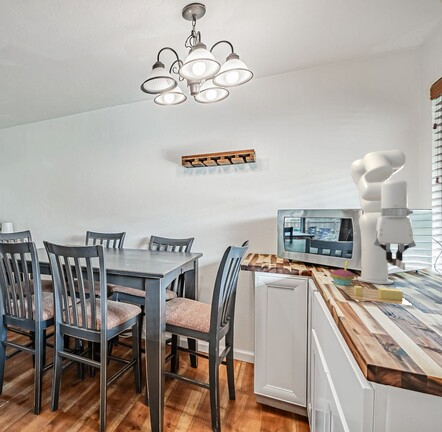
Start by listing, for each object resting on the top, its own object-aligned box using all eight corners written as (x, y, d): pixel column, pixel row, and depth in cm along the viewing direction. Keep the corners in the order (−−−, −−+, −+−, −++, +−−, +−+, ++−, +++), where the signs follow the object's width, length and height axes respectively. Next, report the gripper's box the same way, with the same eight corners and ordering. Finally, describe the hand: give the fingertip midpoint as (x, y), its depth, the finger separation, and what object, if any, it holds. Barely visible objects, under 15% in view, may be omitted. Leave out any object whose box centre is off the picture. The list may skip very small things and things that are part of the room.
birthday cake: (350, 284, 139) (350, 257, 139) (357, 289, 131) (357, 260, 131) (327, 283, 142) (327, 256, 142) (333, 287, 134) (333, 259, 134)
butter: (378, 295, 117) (378, 287, 117) (399, 297, 114) (399, 289, 114) (380, 298, 113) (380, 289, 113) (402, 300, 110) (402, 291, 110)
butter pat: (354, 293, 120) (354, 285, 120) (360, 293, 119) (360, 285, 119) (355, 295, 117) (355, 287, 117) (362, 296, 116) (362, 288, 116)
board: (343, 288, 131) (343, 286, 131) (394, 293, 124) (394, 290, 124) (351, 301, 112) (352, 298, 112) (412, 307, 104) (412, 304, 104)
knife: (386, 262, 125) (386, 255, 125) (392, 262, 125) (392, 255, 125) (400, 269, 108) (400, 262, 108) (407, 270, 107) (407, 262, 107)
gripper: (418, 213, 119) (419, 262, 119) (365, 213, 126) (365, 259, 126) (425, 213, 112) (425, 265, 112) (369, 213, 120) (369, 262, 120)
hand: (394, 262), depth 119 cm, fingers closed on knife, 1 cm apart
